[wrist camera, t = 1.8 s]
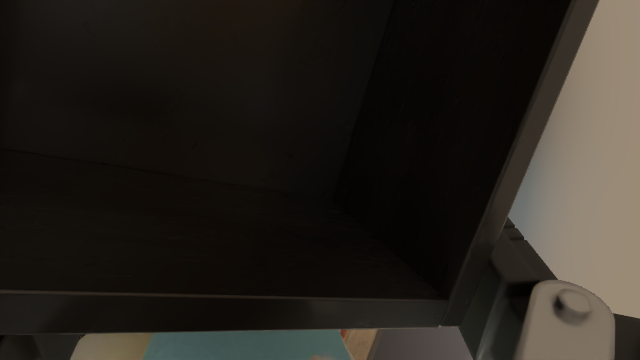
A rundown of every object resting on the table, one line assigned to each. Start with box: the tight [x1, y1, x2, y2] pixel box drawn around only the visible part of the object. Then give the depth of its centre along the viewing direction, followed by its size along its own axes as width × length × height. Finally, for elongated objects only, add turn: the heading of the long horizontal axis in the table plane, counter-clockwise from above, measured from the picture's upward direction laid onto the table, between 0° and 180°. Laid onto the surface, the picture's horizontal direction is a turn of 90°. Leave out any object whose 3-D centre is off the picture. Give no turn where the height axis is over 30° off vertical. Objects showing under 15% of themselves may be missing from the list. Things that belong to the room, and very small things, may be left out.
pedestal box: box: [0, 0, 599, 336], centre depth 19 cm, size 10×10×33 cm
